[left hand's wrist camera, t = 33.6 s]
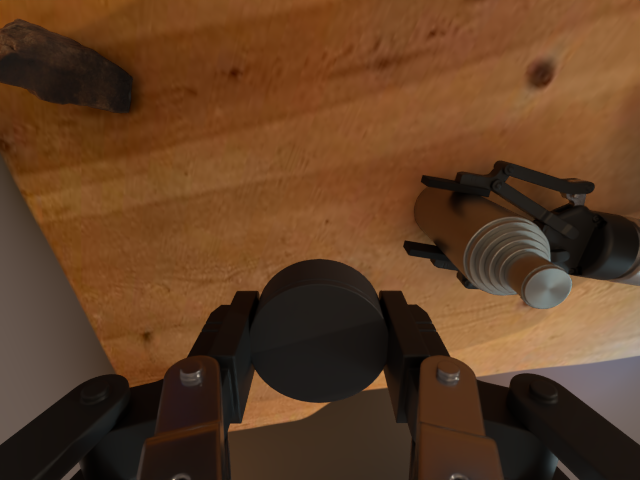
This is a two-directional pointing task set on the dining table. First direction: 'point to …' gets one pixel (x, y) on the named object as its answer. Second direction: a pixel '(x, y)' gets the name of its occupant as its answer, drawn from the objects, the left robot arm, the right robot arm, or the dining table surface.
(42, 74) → the decorative rock
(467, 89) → the dining table surface
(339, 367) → the cap
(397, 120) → the dining table surface
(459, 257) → the bottle
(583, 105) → the dining table surface
